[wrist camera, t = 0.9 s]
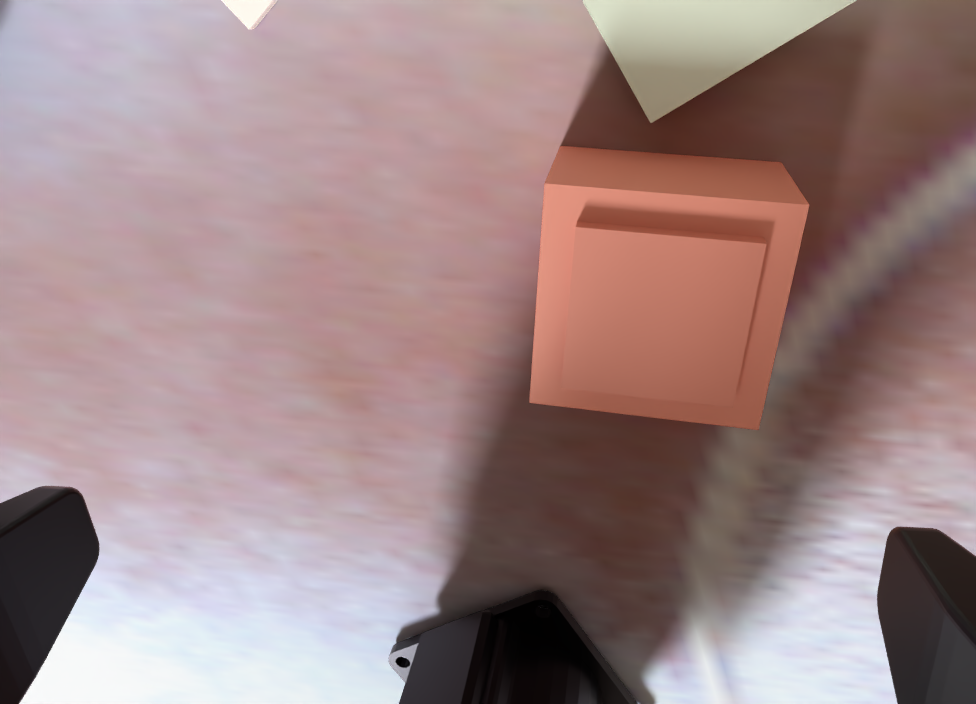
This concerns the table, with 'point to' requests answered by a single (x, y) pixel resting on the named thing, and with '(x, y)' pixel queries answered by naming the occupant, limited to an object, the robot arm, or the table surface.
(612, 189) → the red block
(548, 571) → the table surface
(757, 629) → the table surface
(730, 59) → the plate
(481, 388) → the table surface
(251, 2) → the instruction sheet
